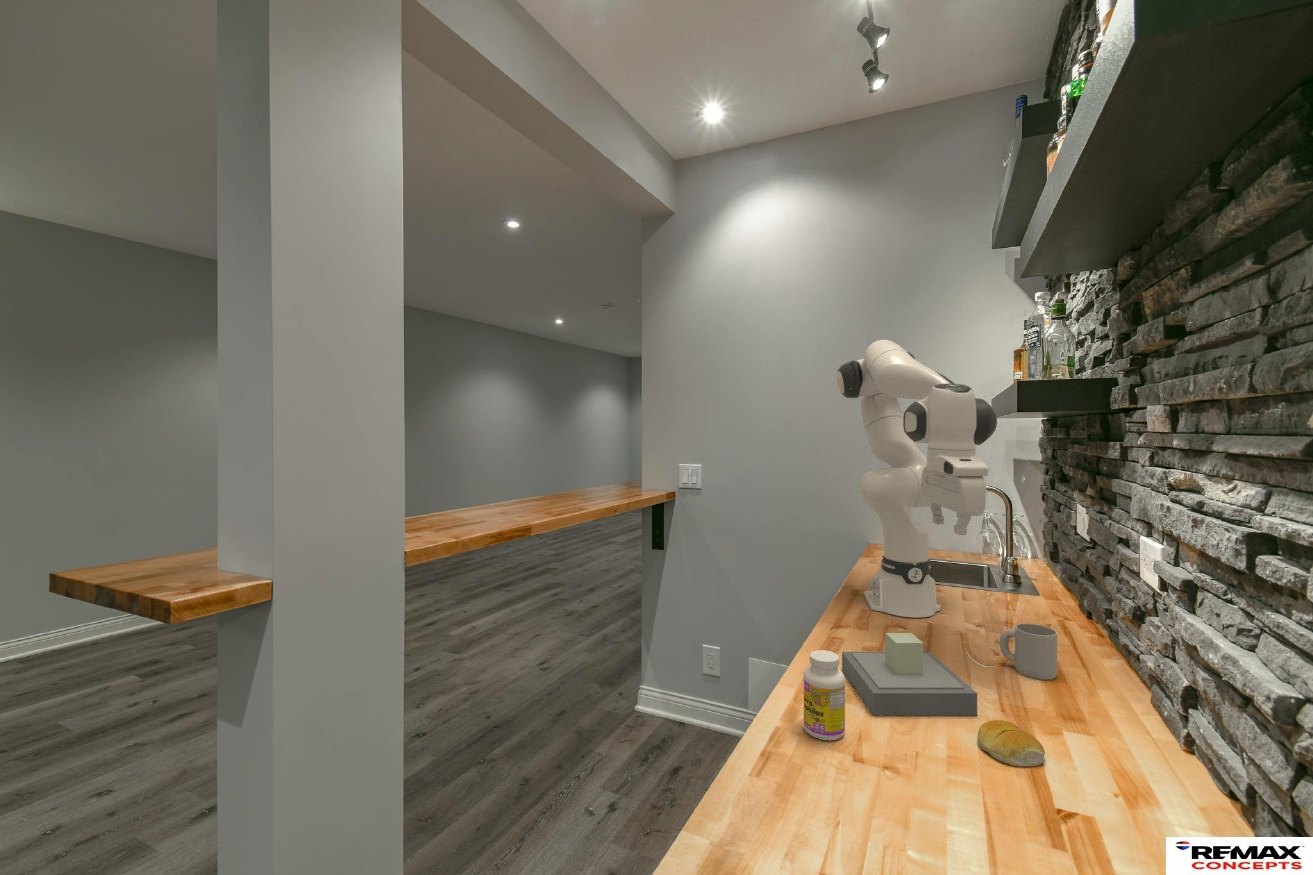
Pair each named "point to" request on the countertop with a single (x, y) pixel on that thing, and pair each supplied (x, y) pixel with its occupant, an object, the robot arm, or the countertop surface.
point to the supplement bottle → (824, 696)
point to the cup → (1032, 650)
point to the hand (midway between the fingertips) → (948, 528)
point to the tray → (908, 687)
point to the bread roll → (1010, 744)
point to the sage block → (904, 654)
